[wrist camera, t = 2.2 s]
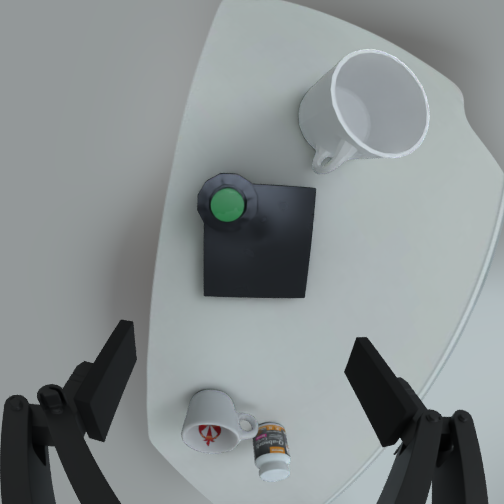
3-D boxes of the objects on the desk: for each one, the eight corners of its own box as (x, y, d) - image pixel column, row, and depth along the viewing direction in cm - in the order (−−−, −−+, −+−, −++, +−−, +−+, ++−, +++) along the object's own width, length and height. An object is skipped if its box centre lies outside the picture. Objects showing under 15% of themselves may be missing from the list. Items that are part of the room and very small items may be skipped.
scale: (200, 291, 34) (197, 302, 31) (201, 172, 30) (198, 172, 27) (302, 293, 35) (308, 304, 32) (313, 178, 31) (321, 179, 28)
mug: (378, 103, 29) (436, 83, 18) (353, 191, 32) (408, 204, 21) (308, 71, 28) (344, 30, 16) (279, 164, 31) (306, 162, 19)
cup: (261, 388, 39) (267, 428, 32) (250, 420, 41) (253, 458, 34) (189, 378, 38) (182, 418, 30) (184, 412, 40) (179, 449, 32)
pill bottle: (279, 417, 42) (288, 464, 32) (288, 434, 43) (297, 477, 34) (247, 426, 42) (251, 472, 32) (257, 442, 43) (262, 485, 34)
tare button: (211, 218, 29) (210, 221, 27) (212, 187, 28) (211, 188, 27) (242, 219, 29) (243, 222, 28) (244, 188, 28) (245, 189, 27)
